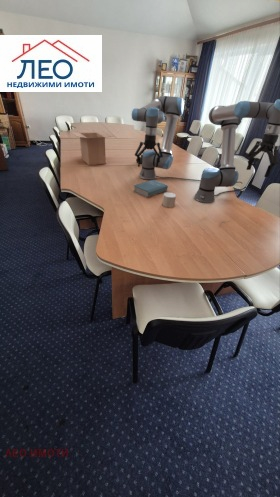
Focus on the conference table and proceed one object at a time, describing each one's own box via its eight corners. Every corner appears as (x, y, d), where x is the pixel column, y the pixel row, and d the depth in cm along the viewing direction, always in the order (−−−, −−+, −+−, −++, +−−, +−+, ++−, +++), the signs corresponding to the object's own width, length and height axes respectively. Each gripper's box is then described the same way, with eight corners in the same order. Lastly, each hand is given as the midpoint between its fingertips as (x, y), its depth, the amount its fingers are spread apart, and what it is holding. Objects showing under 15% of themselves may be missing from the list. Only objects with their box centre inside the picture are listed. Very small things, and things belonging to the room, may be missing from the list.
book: (152, 185, 190) (153, 179, 187) (167, 191, 181) (167, 185, 178) (133, 191, 176) (133, 185, 173) (147, 198, 167) (148, 191, 164)
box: (116, 165, 229) (116, 136, 213) (83, 168, 214) (80, 137, 198) (102, 154, 259) (101, 128, 243) (71, 156, 244) (68, 129, 228)
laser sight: (155, 166, 234) (156, 156, 228) (135, 164, 237) (135, 154, 231) (157, 164, 242) (158, 154, 236) (137, 161, 245) (137, 152, 239)
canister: (167, 201, 165) (169, 191, 161) (176, 205, 161) (178, 195, 156) (160, 204, 160) (161, 194, 156) (169, 208, 156) (170, 198, 151)
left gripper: (133, 134, 144) (131, 167, 156) (169, 136, 149) (165, 168, 161) (131, 132, 150) (130, 164, 162) (166, 134, 155) (162, 165, 167)
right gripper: (249, 129, 127) (237, 167, 140) (287, 138, 109) (269, 180, 122) (258, 129, 130) (245, 166, 143) (297, 138, 112) (279, 179, 125)
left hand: (147, 166), depth 161 cm, fingers open, 13 cm apart
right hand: (256, 173), depth 132 cm, fingers open, 13 cm apart
